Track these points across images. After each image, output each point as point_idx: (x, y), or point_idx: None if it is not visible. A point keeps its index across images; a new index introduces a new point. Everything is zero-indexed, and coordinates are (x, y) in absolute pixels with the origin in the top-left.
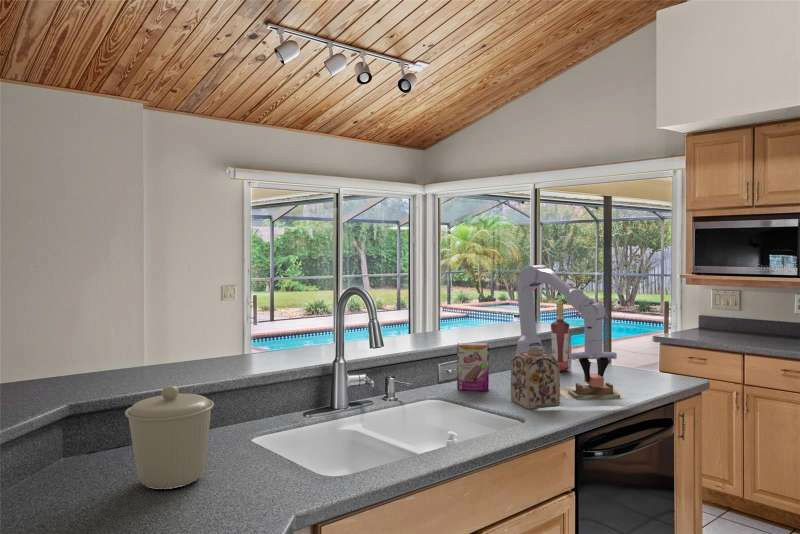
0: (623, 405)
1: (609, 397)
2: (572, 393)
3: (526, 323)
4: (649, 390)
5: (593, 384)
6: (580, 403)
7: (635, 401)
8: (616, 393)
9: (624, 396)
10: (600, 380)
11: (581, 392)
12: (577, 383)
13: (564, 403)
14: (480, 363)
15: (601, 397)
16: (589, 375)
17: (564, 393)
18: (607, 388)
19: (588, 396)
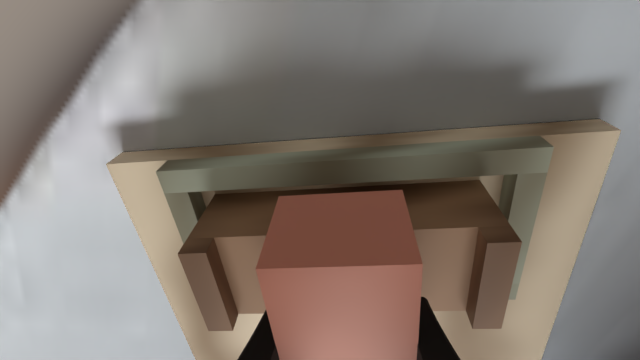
0: (162, 42)
1: (247, 158)
2: (533, 222)
3: None
4: (23, 347)
5: (397, 207)
6: (495, 102)
7: (77, 157)
8: (180, 213)
9: (134, 200)
10: (307, 241)
11: (477, 203)
12: (491, 317)
13: (634, 101)
14: None
15: (312, 154)
16: (426, 352)
17: (538, 278)
18: (238, 231)
19: (426, 151)
